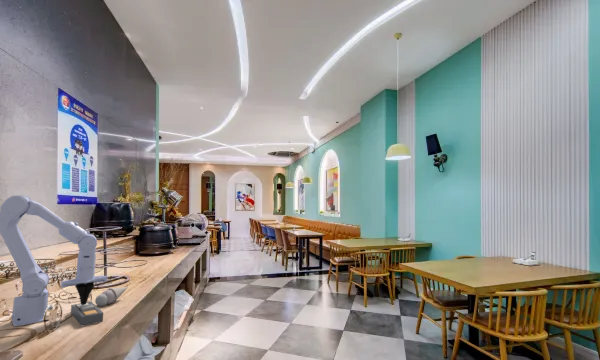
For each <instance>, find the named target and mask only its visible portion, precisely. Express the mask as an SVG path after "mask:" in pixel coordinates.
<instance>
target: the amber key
mask: <svg viewBox="0 0 600 360" xmlns="http://www.w3.org/2000/svg"><path fill="white" fill-rule="evenodd" d="M95 313H98V312H97V311H96V310H91V311H86V312H83V314H84V315H90V314H95Z"/></svg>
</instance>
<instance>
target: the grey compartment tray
mask: <svg viewBox="0 0 600 360" xmlns="http://www.w3.org/2000/svg"><path fill="white" fill-rule="evenodd" d="M87 303H88V304H92V305H93V306H94V309H93V310H96V311H97V312H98V313H95V314H90V315H84V314H83V312H86V311H81V310H80V308H77V305H79V304H81V302H80V303H76V304H71V306H70V314H71V316H73V318H74V319H75V320H76V321H77V322H78V324H79V325H80V326H81V327H84V326H88V325H93V324H96V323H101V322H103V321H104V312H103V310H101V309H100V308H99V306H98V305H97V304H96V305H95V304H94V302H93V301H87ZM87 311H91V310H87Z"/></svg>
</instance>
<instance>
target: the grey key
mask: <svg viewBox="0 0 600 360" xmlns="http://www.w3.org/2000/svg"><path fill="white" fill-rule="evenodd" d="M93 309H94V306H93V305H92V304H88V305H83V306H80V310H81V311H87V310H93Z"/></svg>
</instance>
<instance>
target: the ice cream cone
mask: <svg viewBox="0 0 600 360" xmlns="http://www.w3.org/2000/svg"><path fill="white" fill-rule="evenodd" d="M128 288H129V286H126V287H125V286H124V287H110V288H109V287H108V288H107V289H106V290H104V291H103V292H102V293H100V294H98V295H97V296H96V298H95V300H94V302H95V304H96V306H97V307H103V306H105V305H111V304H112V303H115V302H116V301H117V300H118V299H119V298H120V297H121V296H122V294H123V293H125V292H126V290H127V289H128Z"/></svg>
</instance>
